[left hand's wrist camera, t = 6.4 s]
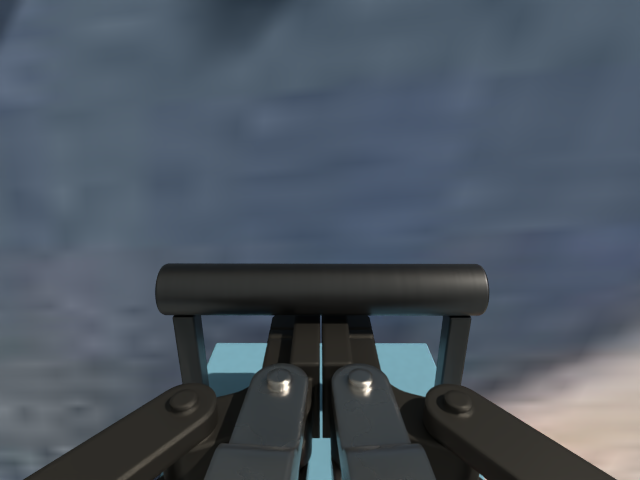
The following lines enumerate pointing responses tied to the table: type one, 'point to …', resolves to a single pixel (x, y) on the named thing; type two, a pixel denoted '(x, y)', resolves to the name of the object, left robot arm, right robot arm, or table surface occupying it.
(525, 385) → the table surface
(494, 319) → the table surface
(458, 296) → the drawer
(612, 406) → the table surface
